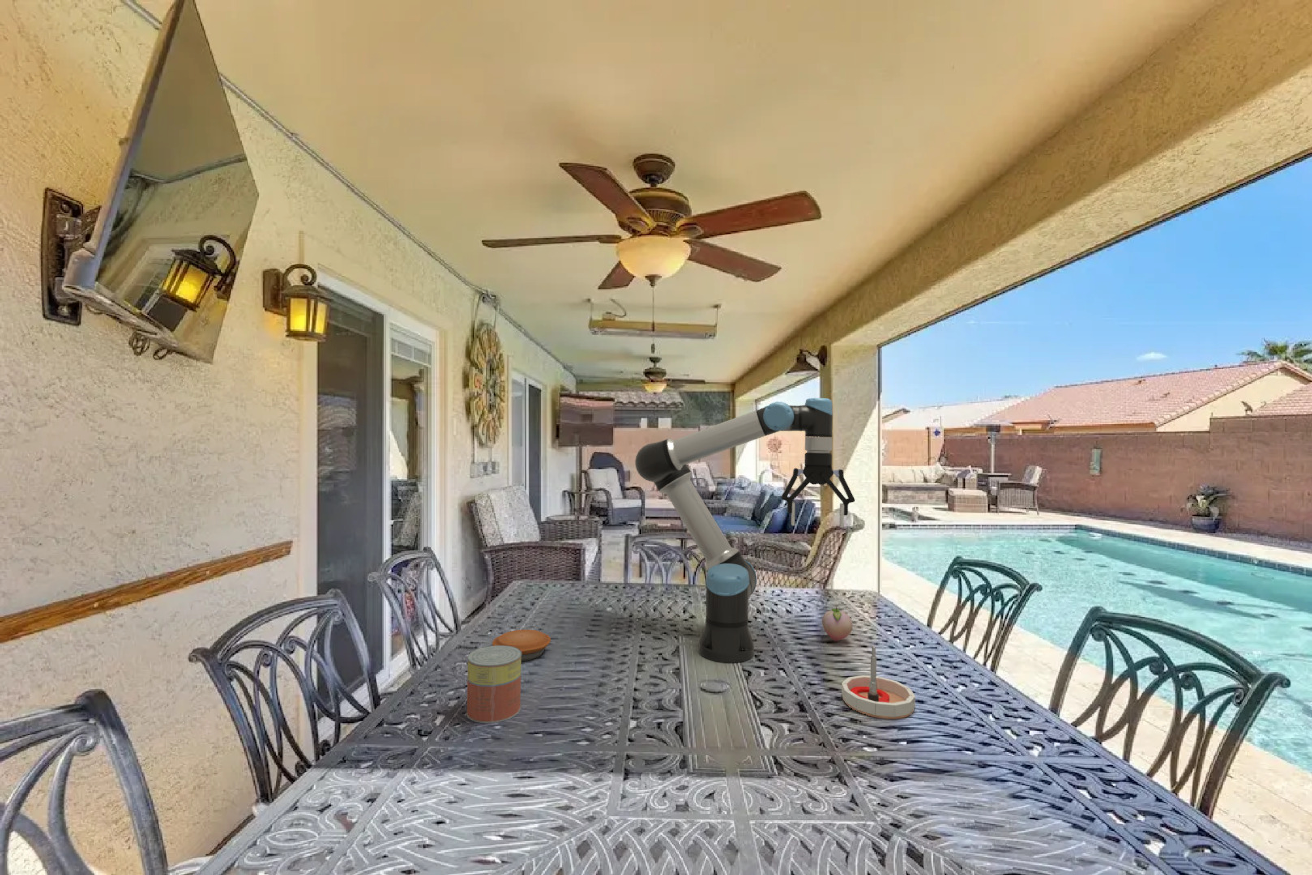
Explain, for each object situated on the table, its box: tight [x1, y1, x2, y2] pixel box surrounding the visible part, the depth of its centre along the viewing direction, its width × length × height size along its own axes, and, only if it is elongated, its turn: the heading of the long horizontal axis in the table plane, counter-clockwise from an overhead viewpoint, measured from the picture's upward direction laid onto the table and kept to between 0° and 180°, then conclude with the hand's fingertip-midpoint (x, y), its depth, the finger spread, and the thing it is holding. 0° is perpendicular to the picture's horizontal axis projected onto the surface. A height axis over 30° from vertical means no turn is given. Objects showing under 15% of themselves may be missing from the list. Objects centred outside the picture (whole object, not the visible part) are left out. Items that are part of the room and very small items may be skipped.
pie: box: [491, 629, 552, 662], centre depth 157 cm, size 15×16×5 cm
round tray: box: [841, 674, 916, 720], centre depth 130 cm, size 15×15×3 cm
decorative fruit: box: [821, 606, 853, 642], centre depth 170 cm, size 9×8×10 cm
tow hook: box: [851, 646, 890, 703], centre depth 132 cm, size 8×13×9 cm
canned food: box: [465, 645, 522, 724], centre depth 124 cm, size 11×11×12 cm
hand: (817, 525), depth 166 cm, fingers open, 13 cm apart
